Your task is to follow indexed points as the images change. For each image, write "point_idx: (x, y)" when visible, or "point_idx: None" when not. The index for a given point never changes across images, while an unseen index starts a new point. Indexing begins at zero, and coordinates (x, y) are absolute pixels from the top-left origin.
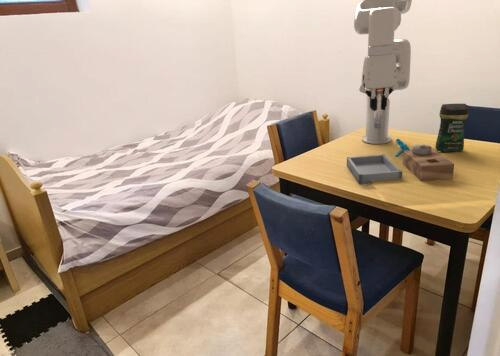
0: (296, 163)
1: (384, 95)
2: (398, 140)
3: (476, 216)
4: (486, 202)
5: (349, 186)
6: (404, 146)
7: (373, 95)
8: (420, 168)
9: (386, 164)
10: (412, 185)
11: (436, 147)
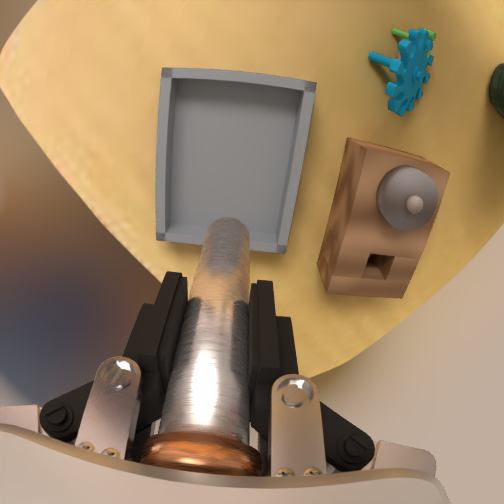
0: (39, 30)
1: (261, 429)
2: (406, 53)
3: (310, 375)
4: (359, 348)
5: (138, 229)
6: (410, 76)
7: (138, 434)
8: (326, 279)
9: (293, 135)
10: (293, 266)
11: (495, 80)
